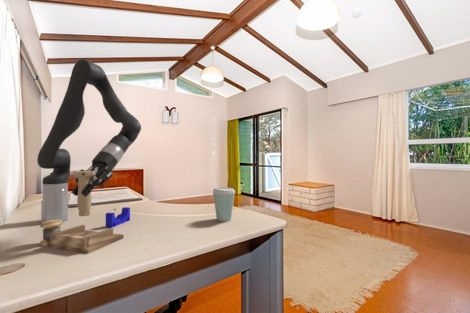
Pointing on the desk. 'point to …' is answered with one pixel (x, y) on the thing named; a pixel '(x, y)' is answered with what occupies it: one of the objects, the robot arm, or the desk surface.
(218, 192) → the disposable coffee cup
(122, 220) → the cable clip
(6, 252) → the desk surface
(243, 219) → the desk surface
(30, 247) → the desk surface
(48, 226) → the bobbin
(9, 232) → the desk surface
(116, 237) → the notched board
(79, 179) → the handle
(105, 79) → the robot arm
